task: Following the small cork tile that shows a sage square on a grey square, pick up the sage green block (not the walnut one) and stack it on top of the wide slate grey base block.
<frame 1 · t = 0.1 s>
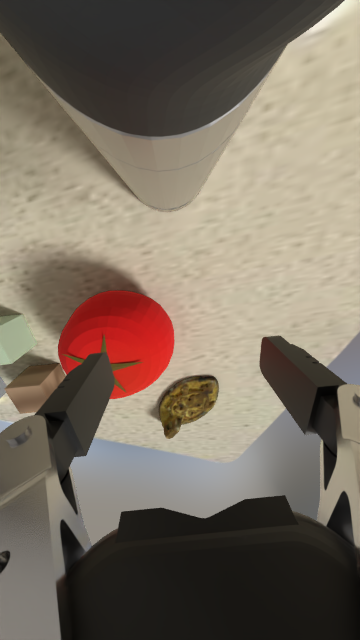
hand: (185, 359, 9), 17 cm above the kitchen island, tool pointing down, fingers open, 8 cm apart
sage block: (14, 330, 27), on the kitchen island
walnut block: (50, 376, 31), on the kitchen island
tomato: (128, 325, 28), on the kitchen island
stuffed eggplant half: (187, 398, 35), on the kitchen island
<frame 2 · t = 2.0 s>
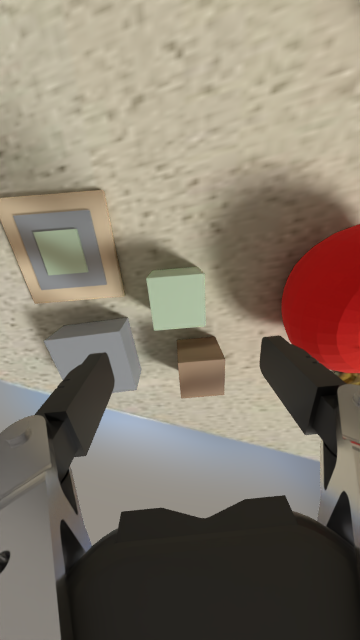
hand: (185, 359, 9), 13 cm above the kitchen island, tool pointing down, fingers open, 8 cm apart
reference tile: (68, 252, 19), on the kitchen island
sage block: (176, 290, 21), on the kitchen island
grey base block: (105, 348, 24), on the kitchen island
walnut block: (196, 354, 25), on the kitchen island
tomato: (318, 286, 22), on the kitchen island
stuffed eggplant half: (341, 388, 29), on the kitchen island
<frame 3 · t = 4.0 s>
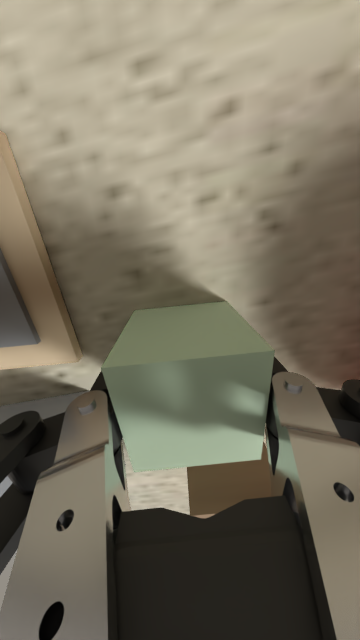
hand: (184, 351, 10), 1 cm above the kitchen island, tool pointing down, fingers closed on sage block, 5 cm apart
sage block: (184, 345, 11), on the kitchen island, touching gripper
grey base block: (59, 436, 14), on the kitchen island
walnut block: (217, 441, 14), on the kitchen island
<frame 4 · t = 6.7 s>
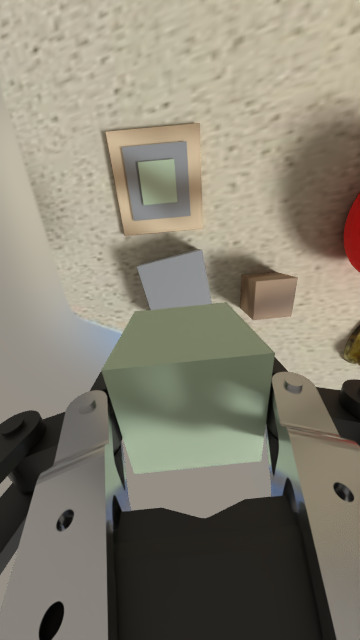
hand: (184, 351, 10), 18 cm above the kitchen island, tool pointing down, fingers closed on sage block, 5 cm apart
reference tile: (159, 185, 22), on the kitchen island
sage block: (184, 346, 11), point 17 cm above the kitchen island, touching gripper
grey base block: (176, 284, 27), on the kitchen island
walnut block: (257, 290, 27), on the kitchen island
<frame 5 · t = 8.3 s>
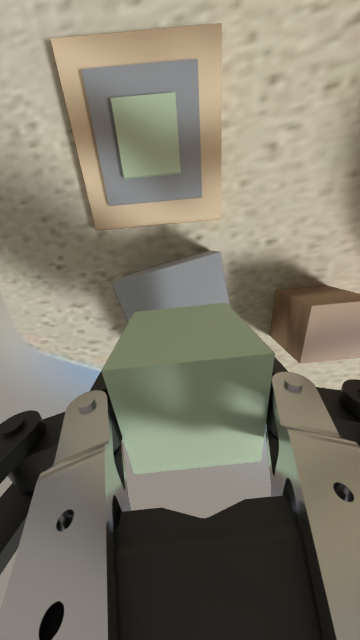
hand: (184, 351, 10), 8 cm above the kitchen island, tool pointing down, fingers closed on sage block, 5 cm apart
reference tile: (150, 146, 13), on the kitchen island
sage block: (184, 346, 11), point 8 cm above the kitchen island, touching gripper
grey base block: (178, 303, 18), on the kitchen island
walnut block: (296, 311, 19), on the kitchen island
when the fingers open (6 cm above the kitchen island, at t = 9.6 s): sage block drops 2 cm, point 4 cm above the kitchen island.
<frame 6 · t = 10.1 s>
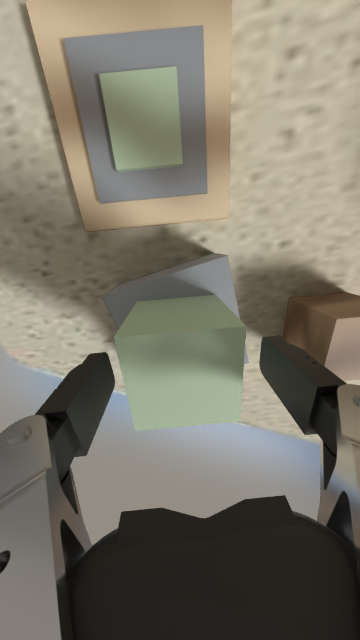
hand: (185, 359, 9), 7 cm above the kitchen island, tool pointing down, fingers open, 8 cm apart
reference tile: (146, 134, 11), on the kitchen island
sage block: (179, 333, 12), point 4 cm above the kitchen island
grey base block: (179, 312, 16), on the kitchen island
walnut block: (311, 321, 17), on the kitchen island
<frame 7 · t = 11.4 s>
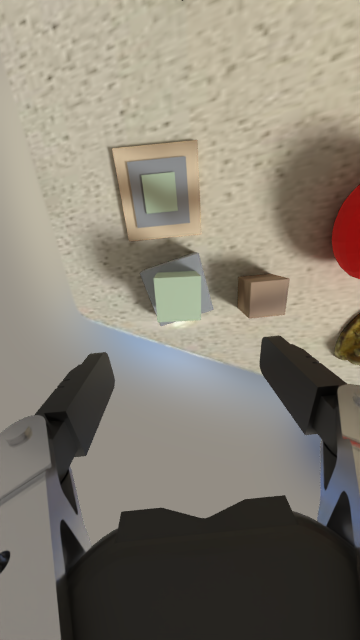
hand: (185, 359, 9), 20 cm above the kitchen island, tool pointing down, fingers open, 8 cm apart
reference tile: (160, 196, 23), on the kitchen island
sage block: (177, 290, 25), point 4 cm above the kitchen island, touching grey base block
grey base block: (177, 286, 28), on the kitchen island, touching sage block
walnut block: (253, 291, 29), on the kitchen island
tomato: (359, 226, 26), on the kitchen island
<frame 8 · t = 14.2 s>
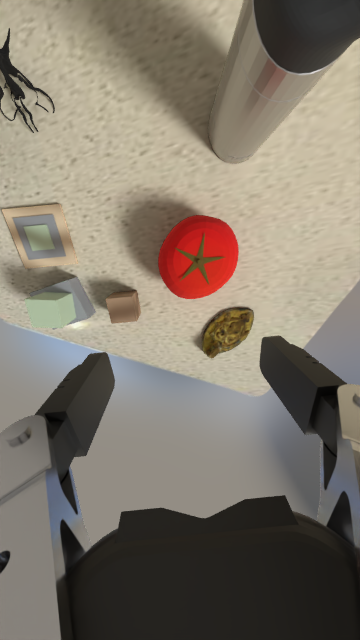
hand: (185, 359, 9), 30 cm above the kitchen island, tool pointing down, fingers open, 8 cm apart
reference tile: (43, 238, 34), on the kitchen island
sage block: (61, 305, 35), point 4 cm above the kitchen island
grey base block: (70, 300, 39), on the kitchen island
walnut block: (127, 302, 39), on the kitchen island
creature: (28, 103, 27), on the kitchen island
tomato: (193, 257, 36), on the kitchen island
stuffed eggplant half: (225, 330, 43), on the kitchen island
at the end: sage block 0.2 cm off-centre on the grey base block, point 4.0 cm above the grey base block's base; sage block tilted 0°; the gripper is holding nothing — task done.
